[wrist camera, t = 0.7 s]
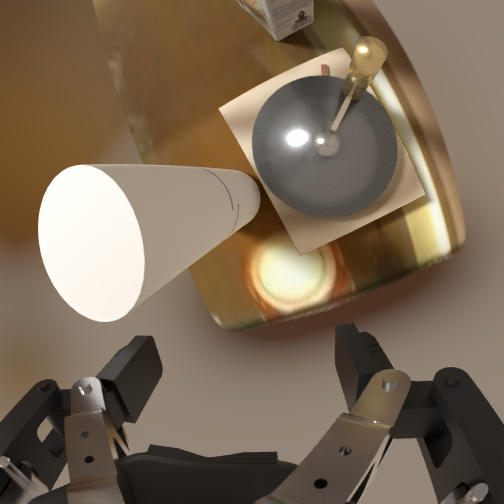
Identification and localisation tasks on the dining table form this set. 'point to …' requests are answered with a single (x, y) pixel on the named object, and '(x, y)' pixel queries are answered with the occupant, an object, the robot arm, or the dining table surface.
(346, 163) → the crank wheel
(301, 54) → the dining table surface
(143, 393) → the robot arm
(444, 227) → the dining table surface
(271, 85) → the stand
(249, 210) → the cylindrical container
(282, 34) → the coffee box
